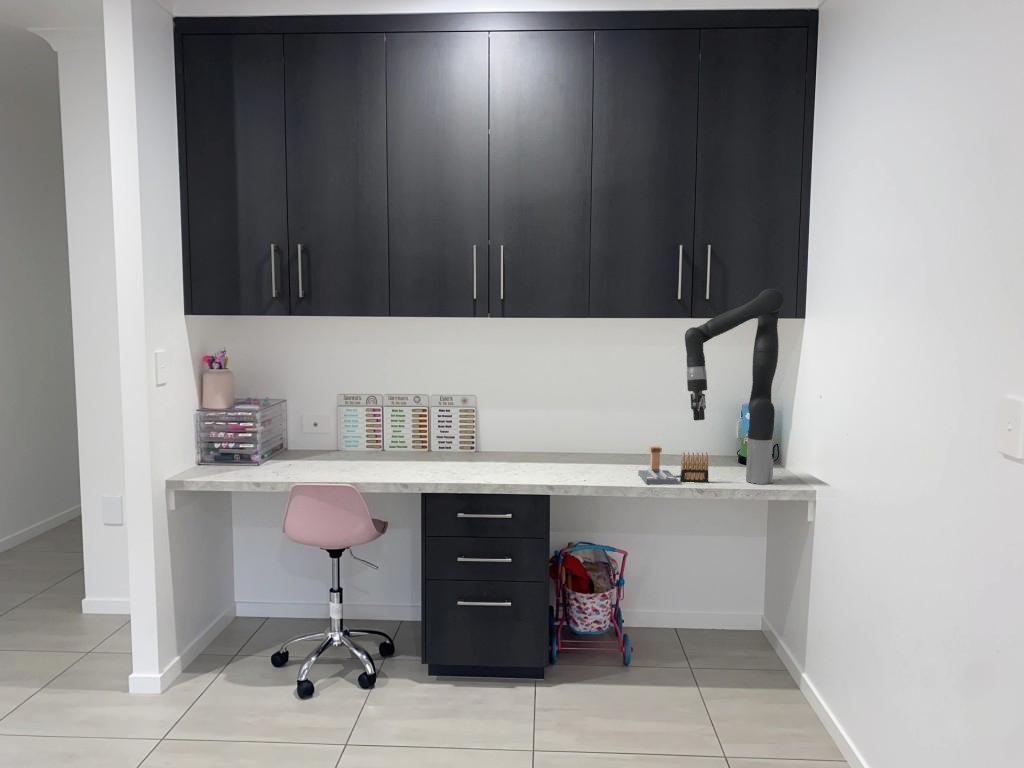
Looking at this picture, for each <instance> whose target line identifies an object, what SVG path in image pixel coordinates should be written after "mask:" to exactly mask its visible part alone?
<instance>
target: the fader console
mask: <svg viewBox="0 0 1024 768" xmlns="http://www.w3.org/2000/svg"><path fill="white" fill-rule="evenodd" d="M639 476H640V477H641V478H642V479H641V478H640V477H639ZM638 477H639V478H640V479H641V480H642V481H643V482H644V483H645V485H678V480H679V479H678V478H677V477H675V475H674V474H672V472H670V471H669V470H668V469H667V470H666V469H664V470H662V469H660V468H659V472H653V471H652V470H651V468H650V467H648V468H647V470H645V469H643V470H642V469H639V470H638Z"/></svg>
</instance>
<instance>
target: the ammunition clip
mask: <svg viewBox="0 0 1024 768" xmlns="http://www.w3.org/2000/svg"><path fill="white" fill-rule="evenodd" d="M699 454H700V455H699ZM679 482H680V483H686V482H694V484H695V483H696V484H709V455H708V452H705V456H704V453H703V451H701V453H699V452H698V451H697V452H696V455H695V453H694V451H692V452H691V455H690V452H689V451H687V453H686V454H685V451H683V452H682V454H681V461H680V479H679Z"/></svg>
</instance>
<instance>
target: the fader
mask: <svg viewBox="0 0 1024 768" xmlns="http://www.w3.org/2000/svg"><path fill="white" fill-rule="evenodd" d="M648 447H649V448H648V452H649V453H650V464H649V465H650V467H649V468H650V469H651V470H652V471H653V472H659V469H660V466H661V465H660V462H661V461H660V459H661V456H660V455H661V453H662V447H661V446H648ZM662 454H663V453H662Z"/></svg>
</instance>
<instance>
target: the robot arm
mask: <svg viewBox="0 0 1024 768" xmlns="http://www.w3.org/2000/svg"><path fill="white" fill-rule="evenodd" d="M784 301H785V298H784V295H783V293H782V292H781V291H780V290H779V289H776V288H766V289H763V290H762V291H761V292H760V293H759V295H758V296H756V297H755V298H753V299H752V300H750V301H748V302H747V303H745V304H743V305H740V306H739V307H736V308H733V309H731V310H727V311H725V312H723V313H721V314H719V315H717V316H714V317H713V318H710V319H709V320H707V321H706V322H705V323H703V324H701V325H699V326H696V327H695V326H692V327H690V328H688V329H687V330H686V331H685V332H684V343H685V351H686V383H687V384H686V385H687V391H688V392H692V393H690V408H691V410H692V411H693V416H692V417H693V420H694V421H705V418H706V417H705V410H706V409H707V405H706V393H703V391H705V392H706V391H707V390H708V378H707V375H708V374H707V369H706V357H705V352H704V344H705V343H707V342H708V341H710V340H712V339H713V338H715V337H718V336H720V335H722V334H724V333H727V332H729V331H731V330H733V329H735V328H736V327H739V326H740V325H742V324H744V323H746V322H747V321H751V320H753V319H755V318H757V328H756V332H755V333H756V334H755V338H754V345H753V353H752V369H751V370H752V371H751V372H752V374H751V375H752V376H751V377H752V385H751V390H750V391H751V392H750V397H749V402H748V406H747V411H748V414H749V421H748V430H747V442H746V443H747V446H746V447H747V449H746V468H745V469H746V470H745V471H746V472H745V481H746V482H747V481H748V482H747V483H749V482H751V483H750V484H754V483H756V484H755V485H767V484H773V477H774V475H773V474H774V458H772V457H773V455H772V454H773V435H774V430H775V414H776V413H775V412H776V410H775V406H774V404H773V403H772V401H773V400H772V387H773V381H774V377H775V374H776V370H777V367H778V366H777V365H778V361H779V349H780V348H779V347H780V346H779V332H778V321H779V315H780V310H781V308H783V305H784V303H785V302H784Z"/></svg>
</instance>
